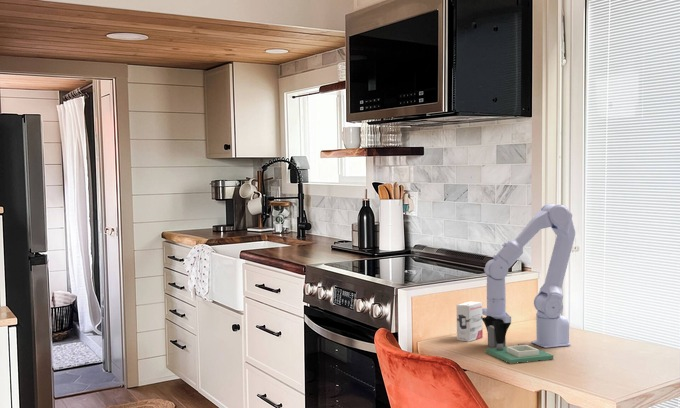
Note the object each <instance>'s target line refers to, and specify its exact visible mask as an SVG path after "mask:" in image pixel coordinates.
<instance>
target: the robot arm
mask: <svg viewBox="0 0 680 408" xmlns="http://www.w3.org/2000/svg"><path fill="white" fill-rule="evenodd" d="M547 228H548V229H549V228H551V229H552V231H553V233H554V234H555V235H556V237H555V242H554V245H553V248H552V253H551V257H550V261H549V265H548V269H547V273H546V277H545V280H544V283H543V284H542V285H541V287H540V288H539V292H538V294H537V295H536V296H535V297H534V299H533V306H534V308H535V310H537V312H536V314H535V315H536V317H535V319H536V322H535V323H536V324H535V325H536V329H535V330H536V339H535V340H530V343H532V344H535V345H536V346H538V347H539V346H540V347H542V348H545V349H546V348H555V347H567V346H571V345H572V343H570V322H569V320H568V318H567V317H566V316H564V315H562V313H563V310H564V304H563V298H564V294H563V290H562V287H563V284H564V279H565V277H566V272H567V269H568V264H569V259H570V256H571V253H572V249H573V245H574V241H575V237H576V230H575V226H574V222H573V213H572V212H571V211H570V210H569V208H568V207H567V206H565V205H563V204H553V203H547V204H544V205H543V206H542V207H541V208H540V210H538V211H537V212H535V214H534V216H533V217H532V219H531V220H530V221H529V222H528V223H527V224H526V226H525V227H524V228H523V229H522V231H520V233H519V234H518V236H516V237H515V239H514V240H509V241H507V242H504V243H503V244H502V248H501V249H500V250H499V251H498V252H497V253H496V254H494V255H492V258H493V259H490V260H488V261H487V262H486V263H485V267H483V271H484V273H485V275H486V307H485V308H483V307H482V316H485V317H482V320H483V324H484V325H485V328H486V331H487V333H488V326H490V325H492V326H494V329H495V334H496V342H497V343H498V344H500V343H504V340H505V337H507V335H506V334H507V331H508V329H509V327H510V326H511V324H512V315H509V314H508V313H507V312H506V310H507V309H506V307H507V306H506V304H507V303H506V277H507V276H508V274H509V269H510V268H511V267H512V266H513V265H514V264H515V263H516V261H517V260H518V259H519V258H520V257H521V255H523V253H524V247H525V246H526V245H527V244H528V243H529V242H530V240H532V239H533V238H534V237H535V236H536V235H537V234H538V233H539V232H540V231H541V230H543V229H547Z"/></svg>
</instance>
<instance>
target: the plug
mask: <svg viewBox="0 0 680 408" xmlns="http://www.w3.org/2000/svg"><path fill="white" fill-rule="evenodd" d="M506 337H507V336H505V340H504V343H500V344H503V347H507V346H506V344H507V343H506V339H507V338H506ZM497 344H498V343H497V342H496V334H495V329H494V326H492V325H490V326H488V332H487V346H489V347H490V348H497Z"/></svg>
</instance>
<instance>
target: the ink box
mask: <svg viewBox="0 0 680 408" xmlns="http://www.w3.org/2000/svg"><path fill="white" fill-rule="evenodd" d="M482 309H483V302H481V301H471V300H469V301H465V302H463V303H460V304H459V303H458V304H456V340H458V341H463V342H468V343H470V342H473V341H475V340H479V339H482V338H483V337H484V336H483V334H484V333H483V326H484V325H483V324H484V322H483V320H482V318H483V314H482Z"/></svg>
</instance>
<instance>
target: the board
mask: <svg viewBox="0 0 680 408" xmlns="http://www.w3.org/2000/svg"><path fill="white" fill-rule="evenodd" d="M485 353H486V354H489V355H490V356H492V357H495V358H497V359H499V360H501V361H503V360H504V361H503V362H505V361H507V362H509V363H516V364H518V363H517V362H525V363H528V362H527V361H535V362H539V361H538V360H544V361H550V360H549V359H553V360H554V354H551V353H550V352H549V353H548V352H547V351H544V350H541V349H539V348H536V347H534V346H531V345H528V344H527V343H520V344H517V345H509V346H506V347H503V344H497V348H493V347H489V348H485ZM507 362H506V363H507ZM509 363H508V364H509Z"/></svg>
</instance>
